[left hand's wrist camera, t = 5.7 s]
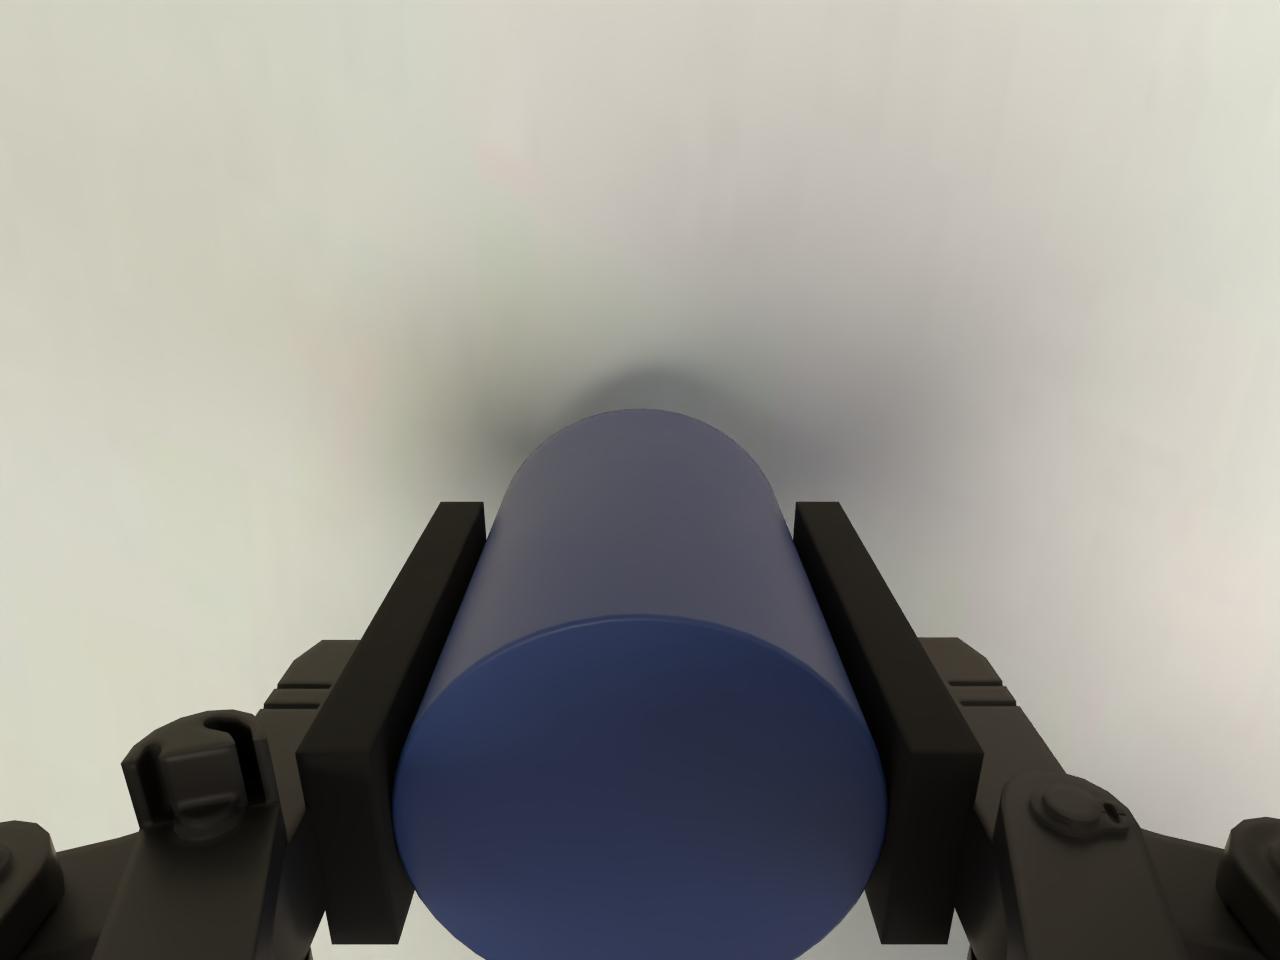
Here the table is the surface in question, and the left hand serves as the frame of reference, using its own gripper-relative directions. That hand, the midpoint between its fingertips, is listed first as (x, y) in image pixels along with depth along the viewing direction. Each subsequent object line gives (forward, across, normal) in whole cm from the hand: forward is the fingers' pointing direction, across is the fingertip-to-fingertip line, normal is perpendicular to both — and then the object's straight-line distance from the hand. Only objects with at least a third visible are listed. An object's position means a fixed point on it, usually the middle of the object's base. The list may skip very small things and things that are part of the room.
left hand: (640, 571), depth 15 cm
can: (+1, 0, 0) cm, 1 cm away
